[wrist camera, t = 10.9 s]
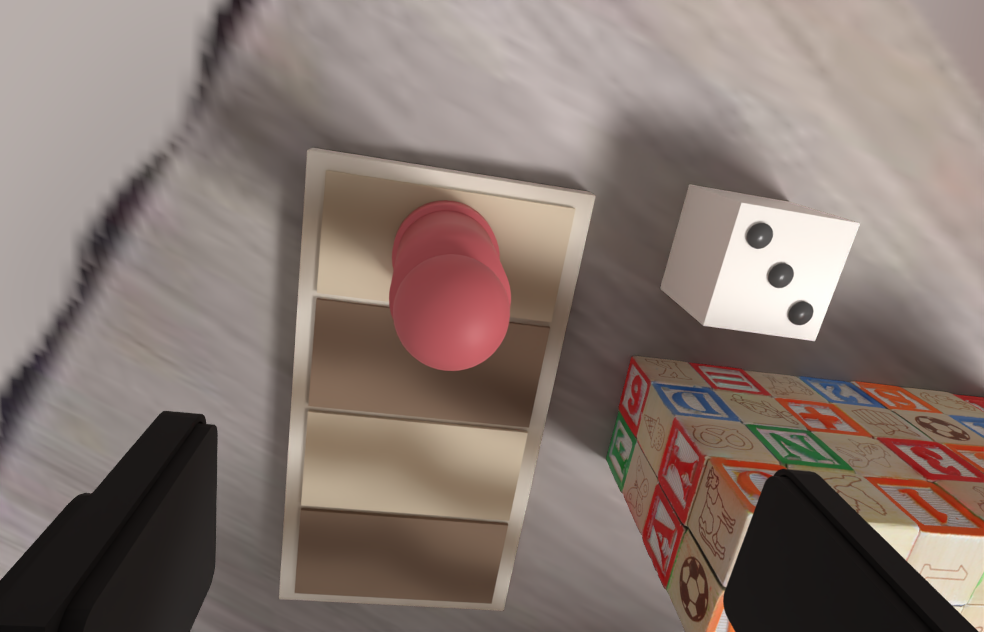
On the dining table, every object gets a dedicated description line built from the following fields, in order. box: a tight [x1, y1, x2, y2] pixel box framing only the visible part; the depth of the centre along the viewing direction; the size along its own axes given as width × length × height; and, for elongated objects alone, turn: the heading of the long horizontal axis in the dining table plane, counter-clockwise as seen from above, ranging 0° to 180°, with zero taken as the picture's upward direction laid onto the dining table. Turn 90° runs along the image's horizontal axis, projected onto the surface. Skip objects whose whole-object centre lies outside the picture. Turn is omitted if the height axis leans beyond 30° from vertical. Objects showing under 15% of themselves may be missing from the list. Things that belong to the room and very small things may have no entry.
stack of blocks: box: [606, 356, 984, 632], centre depth 27 cm, size 21×6×12 cm, turn 81°
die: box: [660, 184, 860, 341], centre depth 26 cm, size 5×5×5 cm
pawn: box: [389, 200, 511, 371], centre depth 21 cm, size 4×4×9 cm
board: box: [279, 148, 596, 611], centre depth 29 cm, size 23×12×1 cm, turn 171°
